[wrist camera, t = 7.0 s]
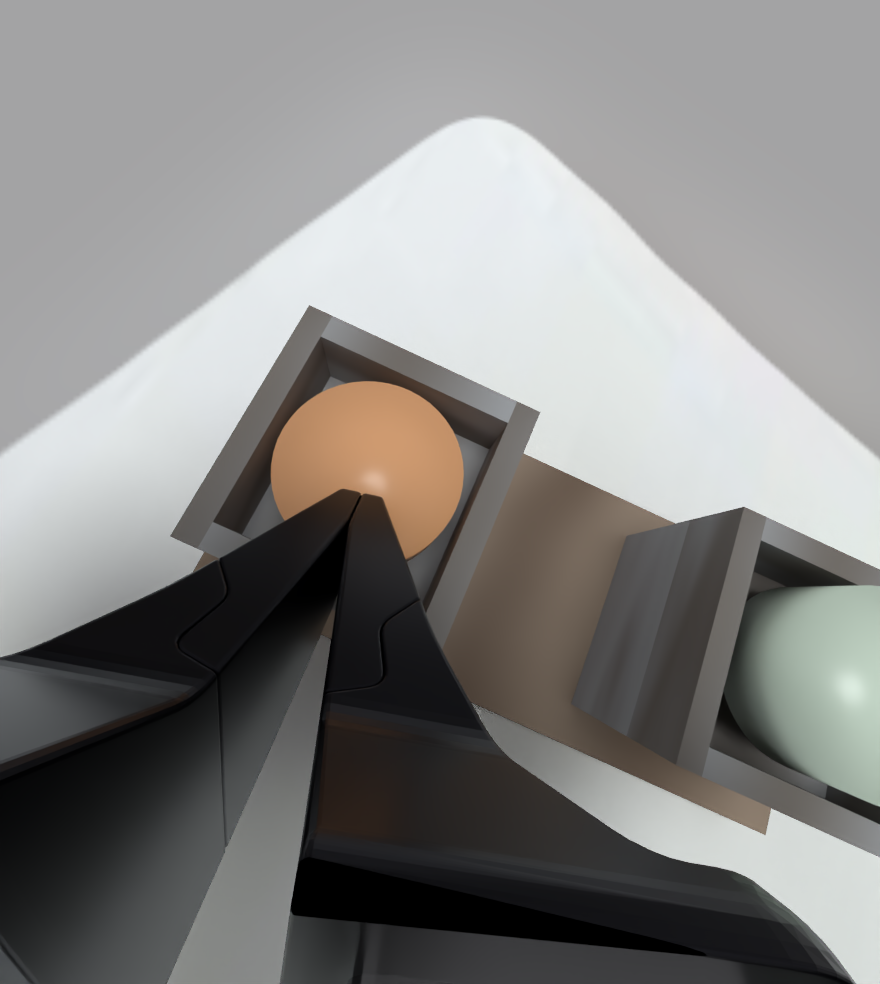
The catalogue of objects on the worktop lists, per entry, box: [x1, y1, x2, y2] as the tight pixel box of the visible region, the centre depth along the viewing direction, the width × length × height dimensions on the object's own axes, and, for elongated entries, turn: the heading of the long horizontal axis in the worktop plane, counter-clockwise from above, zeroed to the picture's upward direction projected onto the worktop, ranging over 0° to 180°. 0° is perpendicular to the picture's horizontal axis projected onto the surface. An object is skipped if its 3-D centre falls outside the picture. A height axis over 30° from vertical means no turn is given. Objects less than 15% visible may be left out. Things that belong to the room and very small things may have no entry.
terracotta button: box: [271, 381, 464, 562], centre depth 11 cm, size 4×4×2 cm
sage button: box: [724, 585, 880, 807], centre depth 10 cm, size 4×4×2 cm
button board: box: [171, 305, 880, 857], centre depth 14 cm, size 20×8×7 cm, turn 66°
